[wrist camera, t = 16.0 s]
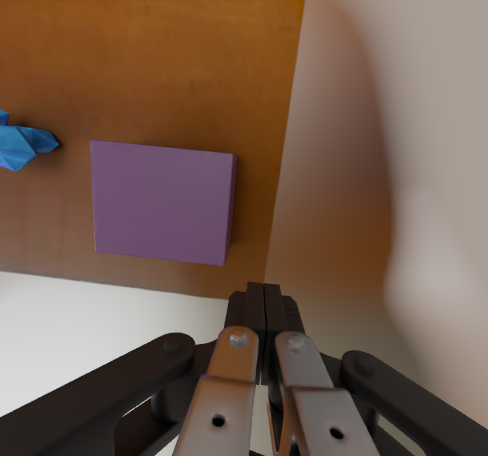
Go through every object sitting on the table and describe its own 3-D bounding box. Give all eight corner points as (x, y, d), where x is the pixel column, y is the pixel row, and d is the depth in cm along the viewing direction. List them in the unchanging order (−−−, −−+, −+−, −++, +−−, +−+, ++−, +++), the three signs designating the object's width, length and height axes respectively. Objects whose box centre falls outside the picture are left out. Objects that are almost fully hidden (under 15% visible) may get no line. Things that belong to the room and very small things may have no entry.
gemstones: (-67, 92, 31) (9, 107, 28) (14, 110, 39) (79, 122, 36) (-61, 157, 33) (12, 176, 30) (15, 160, 41) (77, 176, 38)
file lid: (98, 250, 34) (95, 252, 33) (93, 139, 30) (89, 139, 30) (224, 263, 33) (224, 266, 33) (234, 153, 30) (233, 153, 29)
